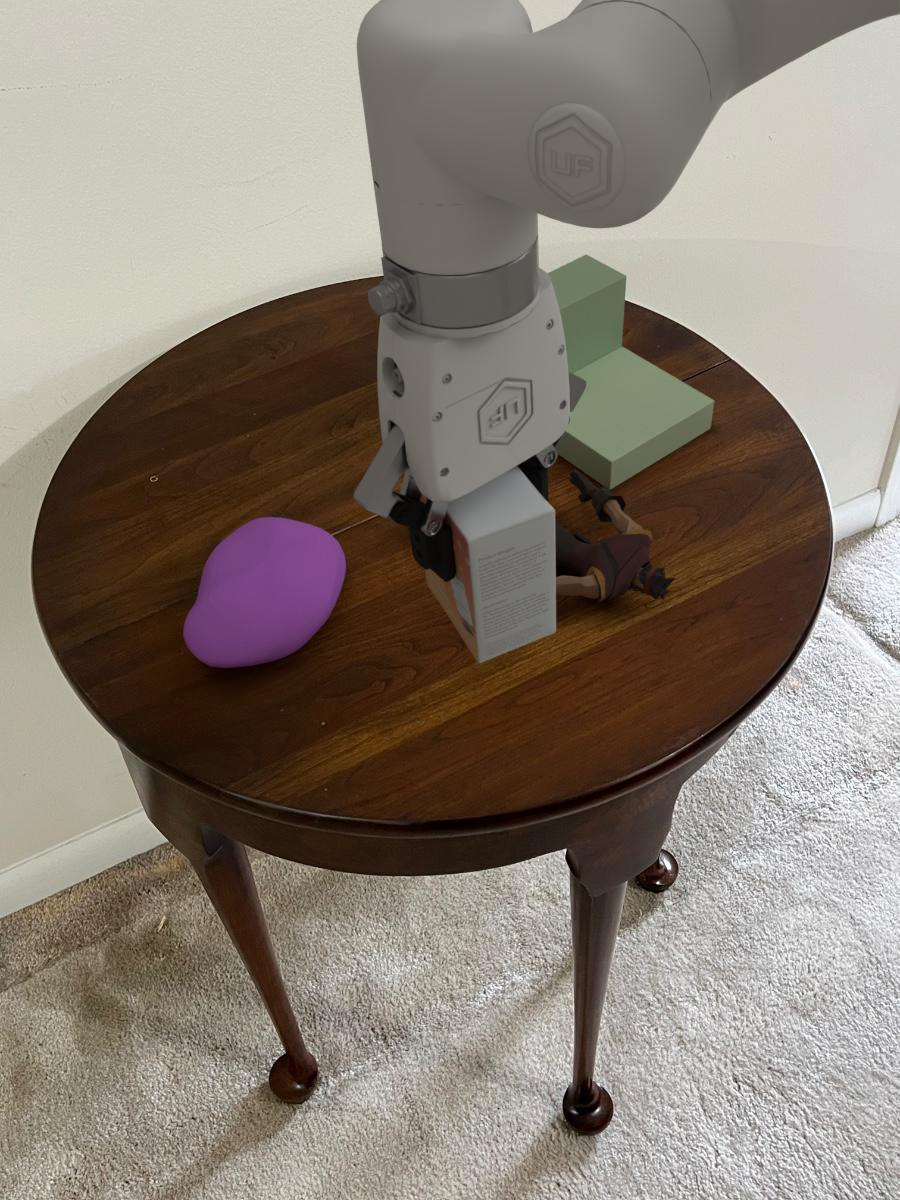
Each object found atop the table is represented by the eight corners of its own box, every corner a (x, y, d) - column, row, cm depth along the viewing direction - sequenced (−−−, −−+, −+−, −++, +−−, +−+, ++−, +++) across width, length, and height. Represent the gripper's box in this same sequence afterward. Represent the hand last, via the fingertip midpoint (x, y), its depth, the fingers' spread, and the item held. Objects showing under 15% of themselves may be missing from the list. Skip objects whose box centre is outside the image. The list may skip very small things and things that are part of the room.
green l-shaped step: (710, 428, 96) (725, 328, 89) (609, 490, 92) (616, 389, 84) (582, 351, 106) (586, 254, 98) (484, 403, 101) (480, 305, 93)
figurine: (393, 578, 87) (619, 677, 78) (385, 537, 84) (619, 635, 75) (502, 472, 95) (718, 550, 86) (498, 432, 92) (722, 507, 83)
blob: (245, 711, 78) (231, 665, 74) (142, 641, 83) (124, 595, 79) (381, 590, 85) (374, 543, 82) (279, 533, 90) (268, 486, 87)
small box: (425, 586, 74) (408, 461, 66) (502, 556, 75) (493, 431, 68) (478, 667, 69) (465, 542, 61) (559, 635, 70) (556, 508, 62)
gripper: (362, 375, 49) (405, 646, 62) (643, 233, 56) (630, 504, 69) (272, 310, 54) (330, 576, 67) (543, 186, 60) (548, 449, 73)
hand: (482, 537), depth 68 cm, fingers closed on small box, 6 cm apart
